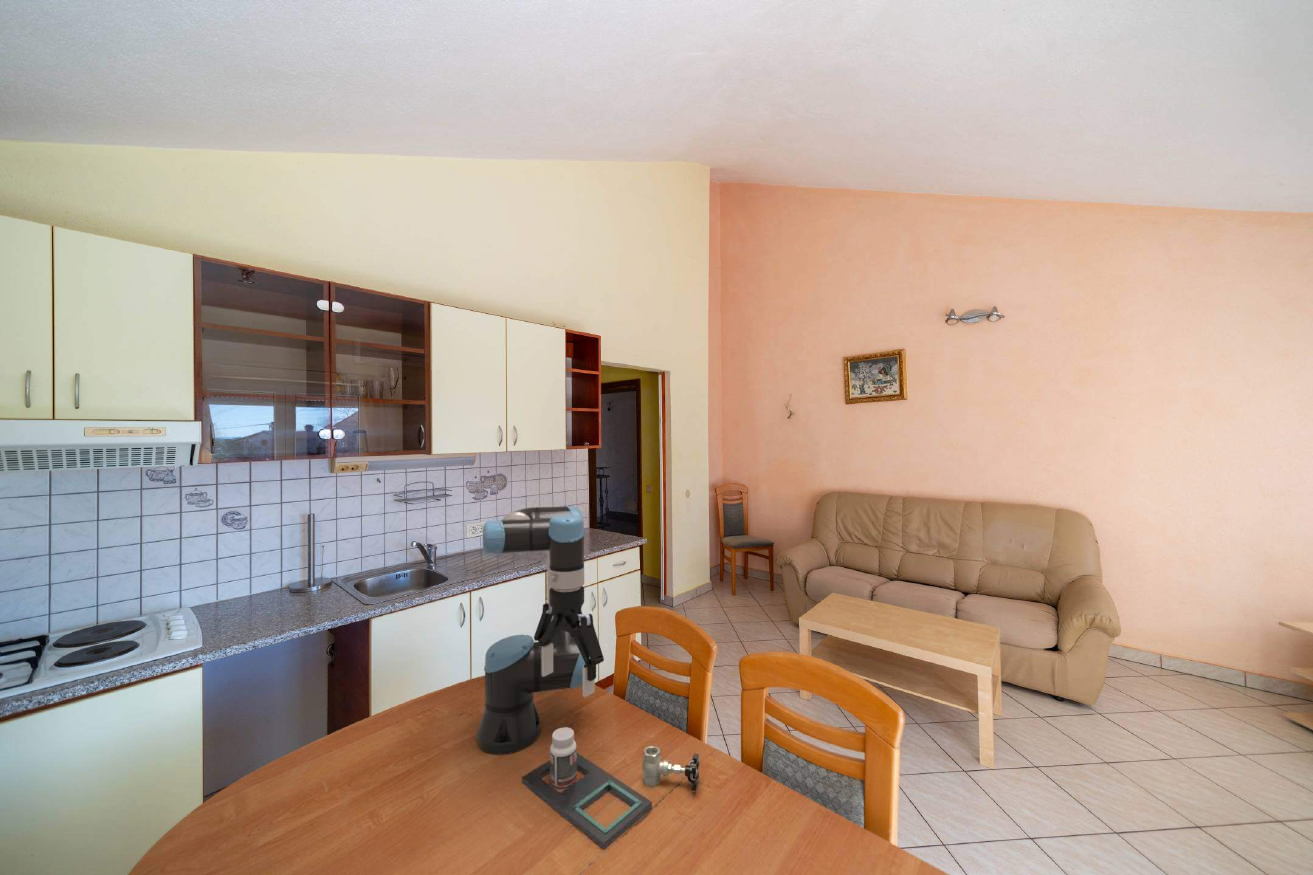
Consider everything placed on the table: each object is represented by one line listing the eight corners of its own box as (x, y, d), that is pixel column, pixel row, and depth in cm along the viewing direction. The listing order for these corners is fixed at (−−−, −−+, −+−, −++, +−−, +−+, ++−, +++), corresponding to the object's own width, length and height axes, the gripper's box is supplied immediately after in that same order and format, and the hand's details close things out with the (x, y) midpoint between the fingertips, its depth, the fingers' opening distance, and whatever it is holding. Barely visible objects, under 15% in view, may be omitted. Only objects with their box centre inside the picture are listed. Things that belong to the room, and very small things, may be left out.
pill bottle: (581, 773, 106) (581, 728, 106) (568, 791, 100) (568, 743, 100) (558, 768, 107) (558, 723, 108) (544, 785, 102) (544, 738, 102)
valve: (638, 790, 100) (695, 799, 98) (638, 759, 100) (695, 766, 98) (646, 769, 107) (699, 777, 104) (645, 740, 107) (699, 746, 104)
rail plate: (521, 782, 103) (521, 776, 103) (569, 752, 113) (569, 746, 113) (603, 849, 86) (603, 841, 86) (652, 807, 95) (651, 800, 96)
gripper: (518, 580, 109) (518, 672, 109) (594, 604, 94) (594, 711, 94) (544, 572, 115) (545, 660, 115) (620, 594, 99) (620, 695, 100)
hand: (567, 683), depth 104 cm, fingers open, 13 cm apart
